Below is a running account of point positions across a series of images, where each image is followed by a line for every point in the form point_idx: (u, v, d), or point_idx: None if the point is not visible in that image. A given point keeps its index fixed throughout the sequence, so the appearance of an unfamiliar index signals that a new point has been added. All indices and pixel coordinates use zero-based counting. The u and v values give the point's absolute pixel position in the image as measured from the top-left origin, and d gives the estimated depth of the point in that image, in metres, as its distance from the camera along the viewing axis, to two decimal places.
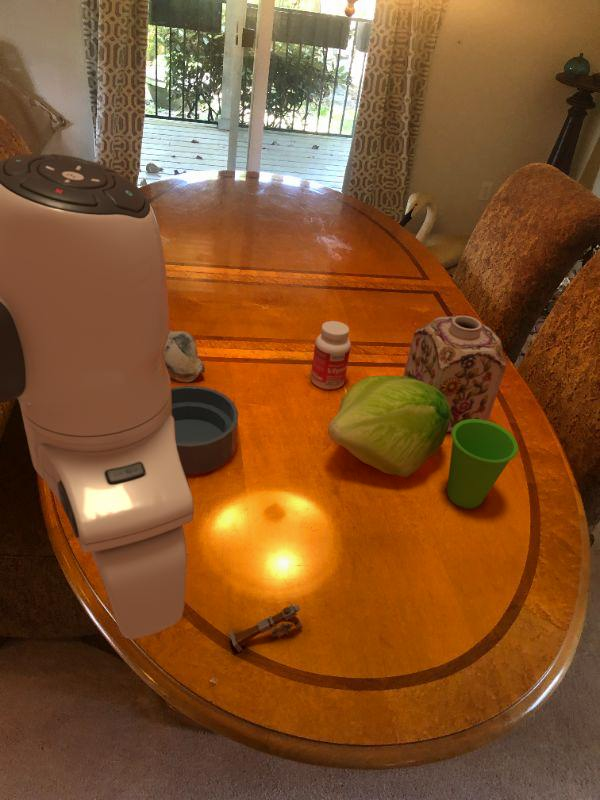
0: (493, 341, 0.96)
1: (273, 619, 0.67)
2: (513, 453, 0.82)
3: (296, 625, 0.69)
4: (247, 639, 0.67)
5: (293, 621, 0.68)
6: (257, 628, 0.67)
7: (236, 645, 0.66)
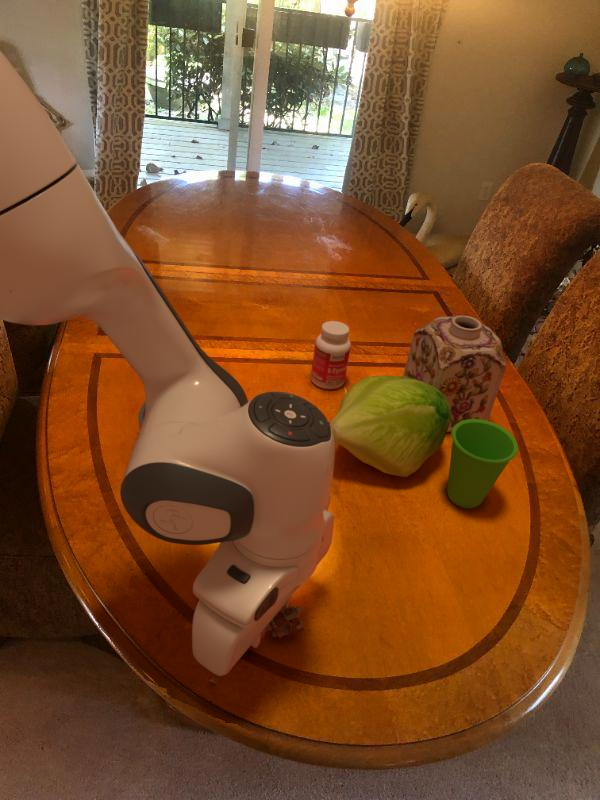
0: (493, 341, 0.96)
1: (274, 619, 0.67)
2: (513, 453, 0.82)
3: (297, 626, 0.69)
4: None
5: (294, 622, 0.68)
6: None
7: None
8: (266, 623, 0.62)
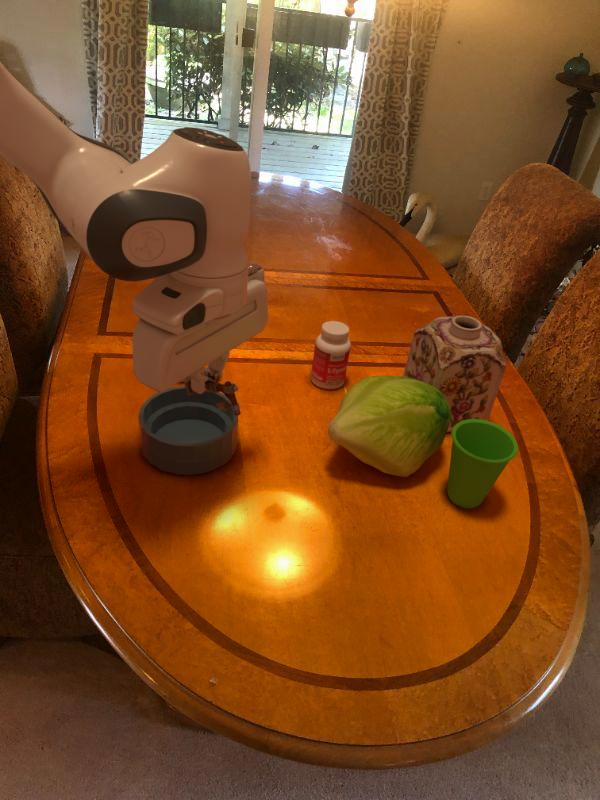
0: (493, 341, 0.96)
1: (217, 385, 0.76)
2: (513, 453, 0.82)
3: (232, 407, 0.75)
4: None
5: (230, 400, 0.75)
6: None
7: (186, 384, 0.78)
8: (202, 362, 0.71)
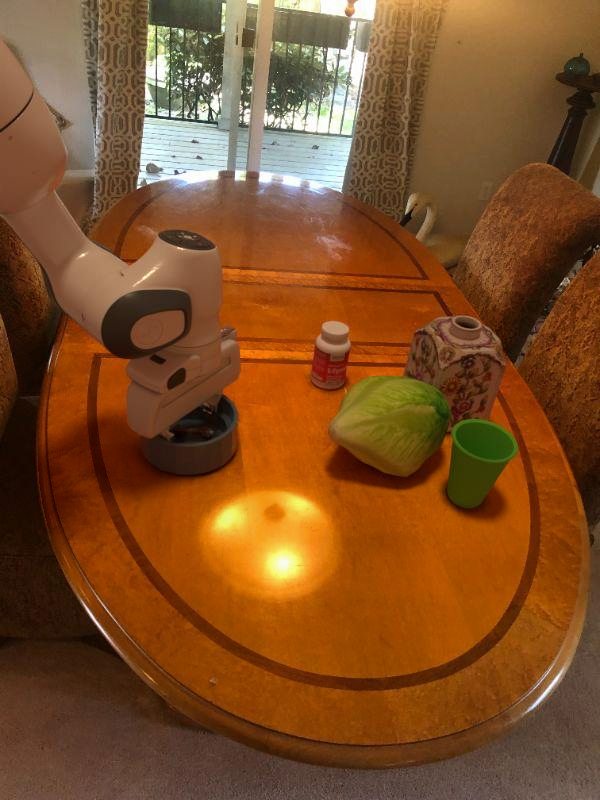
0: (493, 341, 0.96)
1: (197, 430, 0.90)
2: (513, 453, 0.82)
3: None
4: (180, 433, 0.92)
5: None
6: (187, 430, 0.92)
7: (171, 430, 0.93)
8: (184, 411, 0.85)
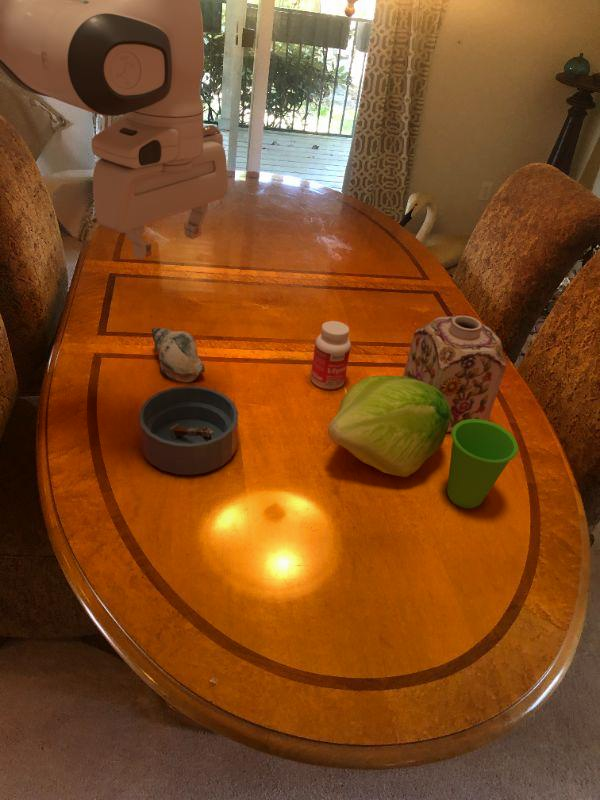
0: (493, 341, 0.96)
1: (197, 430, 0.90)
2: (513, 453, 0.82)
3: None
4: (180, 433, 0.92)
5: None
6: (187, 430, 0.92)
7: (171, 430, 0.93)
8: (161, 212, 0.75)
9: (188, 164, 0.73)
